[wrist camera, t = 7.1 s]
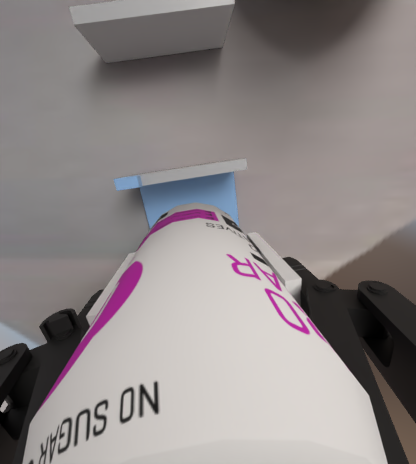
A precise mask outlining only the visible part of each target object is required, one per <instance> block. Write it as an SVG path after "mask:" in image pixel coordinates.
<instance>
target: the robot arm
mask: <svg viewBox="0 0 416 464" xmlns="http://www.w3.org/2000/svg"><path fill="white" fill-rule="evenodd" d="M247 238H248V240H249V241H250V242H251V243H252V245H253V246H254V247H255V249H256V250H257V251H258V253H259V254H260V255H261V256H262V258H263V259H264V260H265V262H266V263H267V264H268V265H269V267H270V268H271V269H272V271H273V272H274V273H275V274H276V276H277V277H278V278H279V280H280V281H281V282H282V284H283V285H284V286H285V287H286V289H287V290H288V291H289V293H290V294H291V295H292V296H293V298H294V299H295V300H296V302H297V303H298V304H299V306H300V307H301V308H302V309H303V311H304V312H305V313H306V315H307V316H308V317H309V318H310V320H311V321H312V322H313V324H314V325H315V326H316V328H317V329H318V330H319V331H320V333H321V334H322V335H323V337H324V338H325V339H326V340H327V342H328V343H329V344H330V346H331V347H332V348H333V350H334V351H335V352H336V353H337V355H338V356H339V357H340V359H341V360H342V361H343V362H344V364H345V365H346V366H347V368H348V369H349V370H350V372H351V373H352V374H353V375H354V377H355V378H356V379H357V381H358V382H359V383H360V384H361V386H362V387H363V388H364V390H365V391H366V392H367V394H368V395H369V397H370V401H371V404H372V408H373V412H374V415H375V419H376V423H377V426H378V430H379V434H380V437H381V441H382V445H383V448H384V452H385V455H386V459H387V463H388V464H409V462H408V460H407V457H406V455H405V452H404V450H403V447H402V445H401V443H400V440H399V437H398V435H397V433H396V430H395V427H394V425H393V422H392V420H391V417H390V415H389V412H388V410H387V408H386V405H385V402H384V400H383V397H382V395H381V392H380V390H379V388H378V385H377V382H376V380H375V377H374V375H373V372H372V370H371V367H370V365H369V363H368V360H367V357H366V355H365V353H364V350H365V352H366V353H367V355H368V356H369V357H370V359H371V360H372V362H373V363H374V365H375V366H376V367H377V369H378V370H379V372H380V373H381V374H382V376H383V377H384V379H385V380H386V382H387V383H388V385H389V386H390V387H391V389H392V390H393V392H394V393H395V394H396V396H397V397H398V399H399V400H400V401H401V403H402V404H403V406H404V407H405V409H406V410H407V411H408V413H409V414H410V416H411V417H412V418H413V420H414V421H415V423H416V305H414V304H413V303H412V302H411V301H409V300H408V299H407V298H405V297H404V296H403V295H402V294H400V293H399V292H398V291H397V290H395V289H394V288H392V287H391V286H389V285H387V284H384V283H382V282H377V281H363V282H361V283H359V285H358V290H342V289H339V288H338V287H337V286H336V285H335V284H333V283H331V282H329V281H325V280H319V279H317V278H316V277H315V276H314V275H313V274H312V273H311V272H310V271H309V270H307V269H306V268H305V267H304V266H303V265H302V264H301V263H300V262H299V261H298V260H296V259H293V258H291V257H286V258H281V257H280V256H279V255H278V254H277V253H276V252H275V251H274V250H273V249H272V248H271V247H270V245H269V244H268V243H267V242H266V241H265V240H264V239H263V238H262V237H261V236H260V235H259V234H258V233H257V232H254V233H248V234H247ZM135 253H136V252H134V253H129V254H128V256H127V257H126V259H125V260H124V261H123V263H122V264H121V266H120V267H119V269H118V270H117V272H116V273H115V275H114V276H113V278H112V279H111V280H110V282H109V283H108V285H107V286H106V288H105V289H104V290H99V291H98V292H97V293H96V294H94V295H93V296H92V297H91V299H90V300H89V301H88V303H87V304H86V305H85V307H84V309H82V311H81V312H80V313H79V315H78V316H77V314H76V312H75V310H73V309H65V310H61V311H59V312H57V313H54V314H53V315H51V316H49V317H48V318H47V319H45V320H44V321H43V322H42V323H41V325H40V326H39V327H40V329H41V331H42V333H43V335H44V336H45V338H46V340H47V344H44V345H42V346H39V347H36V348H34V349H32V350H29V348H28V347H27V345H26V344H24V343H20V344H15V345H13V346H10V347H8V348H6V349H4V350H2V351H0V407H1V405H2V403H3V402H4V400H5V401H6V402H7V403H8V406H7V407H6V409H5V410H4V412H1V411H0V464H22V463H23V458H24V453H25V447H26V442H27V436H28V431H29V426H30V423H31V421H32V420H33V418H34V416H35V415H36V413H37V412H38V410H39V408H40V407H41V405H42V403H43V402H44V400H45V399H46V397H47V395H48V394H49V392H50V391H51V389H52V387H53V386H54V384H55V382H56V381H57V379H58V378H59V376H60V374H61V373H62V371H63V369H64V368H65V366H66V365H67V363H68V361H69V360H70V358H71V357H72V355H73V353H74V352H75V350H76V348H77V347H78V345H79V344H80V342H81V340H82V339H83V337H84V336H85V334H86V332H87V331H88V329H89V327H90V326H91V324H92V323H93V321H94V319H95V318H96V316H97V314H98V313H99V311H100V310H101V308H102V306H103V305H104V303H105V302H106V300H107V298H108V297H109V295H110V293H111V292H112V290H113V289H114V287H115V285H116V284H117V282H118V281H119V279H120V277H121V276H122V274H123V272H124V271H125V269H126V268H127V266H128V264H129V263H130V261H131V259H132V258H133V256H134V255H135ZM363 349H364V350H363Z"/></svg>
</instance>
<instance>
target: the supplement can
mask: <svg viewBox="0 0 416 464" xmlns="http://www.w3.org/2000/svg"><path fill="white" fill-rule="evenodd" d="M22 464H388V463H387V459H386V455H385V452H384V448H383V445H382V441H381V437H380V434H379V430H378V426H377V423H376V419H375V415H374V412H373V408H372V404H371V401H370V397H369V395H368V394H367V392H366V391H365V390H364V388H363V387H362V386H361V384H360V383H359V382H358V381H357V379H356V378H355V377H354V375H353V374H352V373H351V372H350V370H349V369H348V368H347V366H346V365H345V364H344V362H343V361H342V360H341V359H340V357H339V356H338V355H337V353H336V352H335V351H334V350H333V348H332V347H331V346H330V344H329V343H328V342H327V340H326V339H325V338H324V337H323V335H322V334H321V333H320V331H319V330H318V329H317V328H316V326H315V325H314V324H313V322H312V321H311V320H310V318H309V317H308V316H307V315H306V313H305V312H304V311H303V309H302V308H301V307H300V306H299V304H298V303H297V302H296V300H295V299H294V298H293V296H292V295H291V294H290V293H289V291H288V290H287V289H286V287H285V286H284V285H283V284H282V282H281V281H280V280H279V278H278V277H277V276H276V274H275V273H274V272H273V271H272V269H271V268H270V267H269V265H268V264H267V263H266V262H265V260H264V259H263V258H262V256H261V255H260V254H259V253H258V251H257V250H256V249H255V247H254V246H253V245H252V243H251V242H250V241H249V240H248V238H247V237H246V236H245V234H244V233H243V232H242V231H241V229H240V228H239V227H238V225H237V224H236V223H235V222H234V220H233V219H232V218H231V217H230V215H229V214H227V213H226V212H224V211H222V210H220V209H219V208H217V207H215V206H213V205H208V204H202V203H197V202H195V203H189V204H183V205H178V206H176V207H174V208H172V209H171V210H169V211H167V212H165V213H164V214H162V215H161V216H160V218H159V219H158V220H157V221H156V222H155V224H154V225H153V226H152V227H151V229H150V230H149V232H148V234H147V235H146V237H145V238H144V240H143V242H142V243H141V245H140V247H139V248H138V250H137V251H136V253H135V255H134V256H133V258H132V259H131V261H130V263H129V264H128V266H127V268H126V269H125V271H124V272H123V274H122V276H121V277H120V279H119V281H118V282H117V284H116V285H115V287H114V289H113V290H112V292H111V293H110V295H109V297H108V298H107V300H106V302H105V303H104V305H103V306H102V308H101V310H100V311H99V313H98V314H97V316H96V318H95V319H94V321H93V323H92V324H91V326H90V327H89V329H88V331H87V332H86V334H85V336H84V337H83V339H82V340H81V342H80V344H79V345H78V347H77V348H76V350H75V352H74V353H73V355H72V357H71V358H70V360H69V361H68V363H67V365H66V366H65V368H64V369H63V371H62V373H61V374H60V376H59V378H58V379H57V381H56V382H55V384H54V386H53V387H52V389H51V391H50V392H49V394H48V395H47V397H46V399H45V400H44V402H43V403H42V405H41V407H40V408H39V410H38V412H37V413H36V415H35V416H34V418H33V420H32V421H31V423H30V426H29V431H28V436H27V442H26V447H25V453H24V458H23V463H22Z"/></svg>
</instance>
